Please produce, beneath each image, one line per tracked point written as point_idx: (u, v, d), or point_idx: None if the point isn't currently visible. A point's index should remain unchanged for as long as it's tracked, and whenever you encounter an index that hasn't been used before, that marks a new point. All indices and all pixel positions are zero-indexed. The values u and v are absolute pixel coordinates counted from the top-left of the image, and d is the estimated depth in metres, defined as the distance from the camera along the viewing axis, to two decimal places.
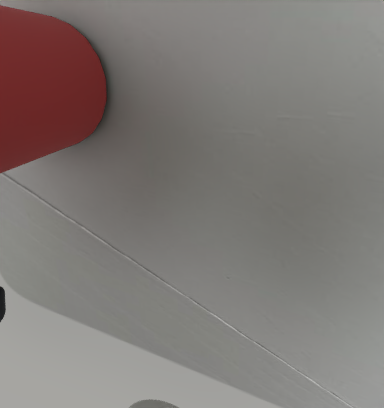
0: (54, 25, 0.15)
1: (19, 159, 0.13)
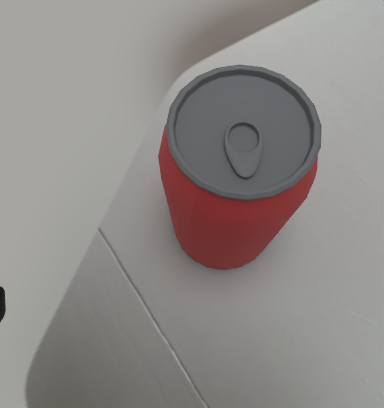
0: None
1: (253, 246, 0.16)
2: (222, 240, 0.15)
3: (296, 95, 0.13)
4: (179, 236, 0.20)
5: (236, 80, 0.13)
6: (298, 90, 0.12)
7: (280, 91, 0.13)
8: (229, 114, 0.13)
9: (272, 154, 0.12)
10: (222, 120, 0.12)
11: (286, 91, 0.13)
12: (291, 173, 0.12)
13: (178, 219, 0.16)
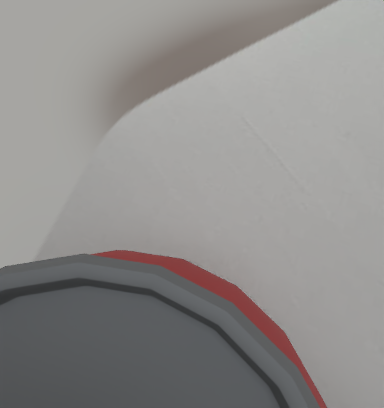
0: None
1: None
2: None
3: (279, 397, 0.03)
4: None
5: (72, 309, 0.04)
6: (287, 391, 0.03)
7: (222, 362, 0.04)
8: None
9: None
10: None
11: (244, 361, 0.04)
12: None
13: None
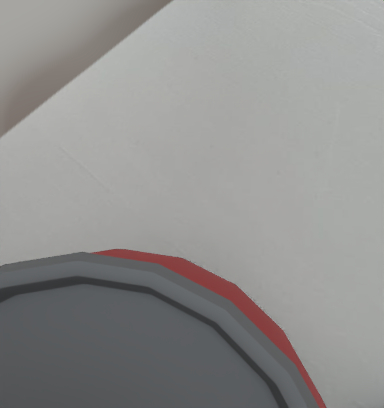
0: None
1: None
2: None
3: (277, 395, 0.03)
4: None
5: (71, 308, 0.04)
6: (286, 388, 0.03)
7: (221, 360, 0.04)
8: None
9: None
10: None
11: (242, 359, 0.04)
12: None
13: None
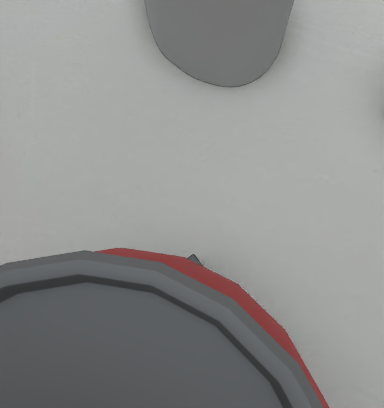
0: None
1: None
2: None
3: (280, 394, 0.03)
4: None
5: (73, 306, 0.04)
6: (288, 387, 0.03)
7: (223, 359, 0.04)
8: None
9: None
10: None
11: (245, 358, 0.04)
12: None
13: None
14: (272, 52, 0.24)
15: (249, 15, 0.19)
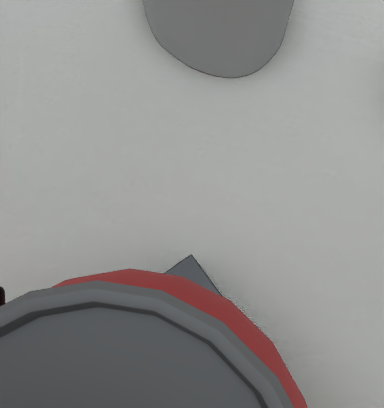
0: None
1: None
2: None
3: (263, 403, 0.04)
4: None
5: (87, 328, 0.04)
6: (267, 397, 0.04)
7: (215, 372, 0.04)
8: None
9: None
10: None
11: (233, 371, 0.04)
12: None
13: None
14: (275, 40, 0.22)
15: None
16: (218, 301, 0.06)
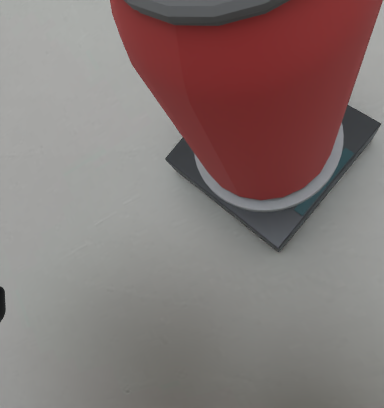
0: None
1: (311, 137, 0.10)
2: (257, 135, 0.09)
3: None
4: (208, 168, 0.14)
5: None
6: None
7: None
8: None
9: None
10: None
11: None
12: None
13: (186, 130, 0.10)
14: None
15: None
16: None
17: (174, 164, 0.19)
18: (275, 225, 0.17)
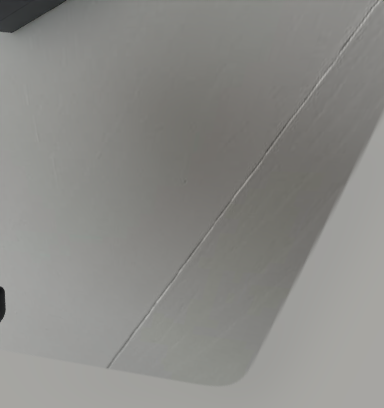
0: None
1: None
2: None
3: None
4: None
5: None
6: None
7: None
8: None
9: None
10: None
11: None
12: None
13: None
14: None
15: None
16: None
17: None
18: None
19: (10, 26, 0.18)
